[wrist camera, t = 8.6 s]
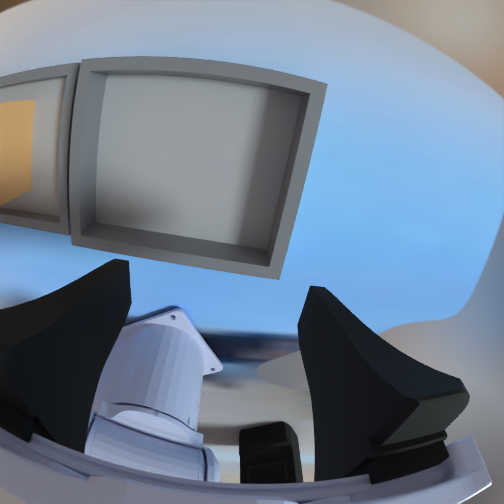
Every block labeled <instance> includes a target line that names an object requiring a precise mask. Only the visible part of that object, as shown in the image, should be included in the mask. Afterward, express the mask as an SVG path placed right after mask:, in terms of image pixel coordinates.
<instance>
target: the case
mask: <svg viewBox="0 0 504 504" xmlns="http://www.w3.org/2000/svg"><path fill="white" fill-rule="evenodd" d="M326 89H327V84H326V83H323V82H319V81H315V80H312V79H308V78H304V77H300V76H296V75H292V74H288V73H284V72H279V71H274V70H270V69H265V68H259V67H254V66H248V65H242V64H236V63H229V62H221V61H213V60H203V59H192V58H178V57H149V56H135V57H107V58H93V59H83V60H82V61H81V65H80V71H79V76H78V82H77V88H76V95H75V102H74V110H73V119H72V130H71V143H70V164H69V204H70V225H71V239H72V245H75V246H80V247H85V248H91V249H96V250H101V251H107V252H112V253H118V254H123V255H129V256H134V257H140V258H146V259H151V260H157V261H163V262H169V263H175V264H181V265H187V266H193V267H199V268H205V269H211V270H218V271H224V272H230V273H237V274H243V275H250V276H256V277H263V278H270V279H277V280H279V278H280V275H281V271H282V267H283V264H284V260H285V256H286V253H287V249H288V245H289V242H290V238H291V234H292V230H293V227H294V223H295V219H296V215H297V211H298V207H299V203H300V199H301V196H302V192H303V188H304V184H305V180H306V175H307V171H308V167H309V163H310V159H311V155H312V151H313V146H314V142H315V138H316V134H317V129H318V125H319V120H320V116H321V112H322V107H323V103H324V98H325V93H326Z"/></svg>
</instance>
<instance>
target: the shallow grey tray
mask: <svg viewBox="0 0 504 504" xmlns="http://www.w3.org/2000/svg"><path fill="white" fill-rule="evenodd" d="M80 65H81V63H71V64H63V65H56V66H50V67H44V68H38V69H33V70H28V71H23V72H19V73H15V74H11V75H7V76H3V77H0V103H3V102H12V101H25V100H35V108H34V119H33V132H32V190H30V191H28V192H26V193H24V194H22V195H20V196H18V197H16V198H14V199H13V200H11V201H9V202H7V203H5V204H4V205H2V206H0V222H1V223H6V224H11V225H16V226H21V227H27V228H32V229H37V230H43V231H48V232H54V233H59V234H65V235H70V234H71V225H70V204H69V164H70V143H71V130H72V119H73V110H74V102H75V95H76V88H77V82H78V76H79V71H80Z"/></svg>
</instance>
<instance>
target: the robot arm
mask: <svg viewBox="0 0 504 504" xmlns="http://www.w3.org/2000/svg"><path fill="white" fill-rule="evenodd" d="M131 303H132V301H131V288H130V272H129V261H127V260H120V259H113V260H111V261H109V262H107V263H105V264H104V265H102V266H100V267H98V268H97V269H95V270H93V271H91V272H90V273H88V274H86V275H84V276H83V277H81V278H79V279H77V280H75V281H73V282H71V283H70V284H68V285H66V286H64V287H62V288H60V289H58V290H56V291H54V292H52V293H49V294H47V295H45V296H42V297H40V298H37V299H35V300H32V301H29V302H26V303H23V304H20V305H17V306H13V307H9V308H5V309H1V310H0V487H2V488H3V489H5V490H6V491H8V492H9V493H11V494H12V495H14V496H16V497H17V498H20V499H21V500H23V501H25V502H26V503H28V504H460V503H462V502H464V501H465V500H467V499H469V498H471V497H472V496H474V495H476V494H477V493H479V492H481V491H482V490H484V489H485V488H487V487H488V486H490V485H491V483H492V482H491V479H490V476H489V474H488V471H487V469H486V466H485V464H484V461H483V459H482V457H481V454H480V452H479V450H478V448H477V446H476V443H475V442H474V439H473V437H472V436H468V437H465V438H463V439H460V440H458V441H455V442H453V443H451V444H449V445H448V446H445V444H444V441H443V440H445V439H446V438H447V434H446V431H445V429H446V428H447V427H448V426H449V425H450V424H451V423H452V422H453V421H454V420H455V419H456V418H457V417H458V416H459V415H460V414H461V413H462V411H463V410H464V409H465V408H466V406H467V404H468V402H469V398H470V396H469V393H468V391H467V390H466V388H465V386H464V384H463V383H462V381H461V380H460V379H459V378H456V377H454V376H450V375H448V374H445V373H442V372H440V371H437V370H435V369H433V368H431V367H429V366H427V365H424V364H422V363H420V362H418V361H416V360H415V359H413V358H411V357H409V356H407V355H406V354H404V353H402V352H401V351H399V350H398V349H396V348H395V347H393V346H392V345H390V344H389V343H388V342H386V341H385V340H383V339H382V338H381V337H379V336H378V335H377V334H376V333H374V332H373V331H372V330H371V329H370V328H368V327H367V326H366V325H365V324H364V323H363V322H361V321H360V320H359V319H358V318H357V317H356V316H355V315H354V314H353V313H352V312H351V311H350V310H349V309H348V308H346V307H345V306H344V305H343V304H342V303H341V302H340V301H339V300H338V299H337V298H336V297H335V296H334V295H333V294H332V293H331V292H330V291H329V290H327V289H326V288H325V287H319V286H310V288H309V291H308V294H307V297H306V301H305V304H304V307H303V310H302V313H301V316H300V319H299V322H298V338H299V347H300V351H301V355H302V360H303V364H304V368H305V372H306V377H307V380H308V385H309V389H310V395H311V401H312V411H313V422H314V439H315V476H314V482H304V483H288V484H237V483H221V482H220V470H219V464H218V461H217V459H216V457H215V456H214V454H213V452H212V450H211V449H209V448H207V447H203V446H202V445H203V434H201V433H198V432H197V423H198V414H199V405H200V396H201V387H202V379H203V375H206V374H211V373H214V372H218V371H221V370H222V369H223V365H222V363H221V362H220V361H219V360H218V358H217V357H216V356H215V354H214V353H213V352H212V350H211V349H210V348H209V346H208V345H207V343H206V342H205V341H204V339H203V338H202V337H201V335H200V334H199V332H198V331H197V330H196V328H195V327H194V325H193V324H192V323H191V321H190V320H189V318H188V317H187V315H186V314H185V313H184V311H183V310H182V309H179V308H176V309H173V310H170V311H167V312H164V313H161V314H159V315H156V316H153V317H150V318H147V319H144V320H141V321H138V322H135V323H132V324H129V325H126V326H124V324H125V321H126V318H127V315H128V312H129V309H130V306H131ZM171 315H174V316H175V317H172V316H171Z"/></svg>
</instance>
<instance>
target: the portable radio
mask: <svg viewBox="0 0 504 504" xmlns="http://www.w3.org/2000/svg"><path fill="white" fill-rule="evenodd" d="M239 455H240V484H288V483H303V475H302V467H301V460H300V451H299V443H298V438H297V435H296V433H295V432H294V430H293V429H292V427H291V426H290V425H288V424H286V423H283V422H280V423H276V424H271V425H267V426H262V427H257V428H251V429H246V430H241V431H240V433H239Z"/></svg>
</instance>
